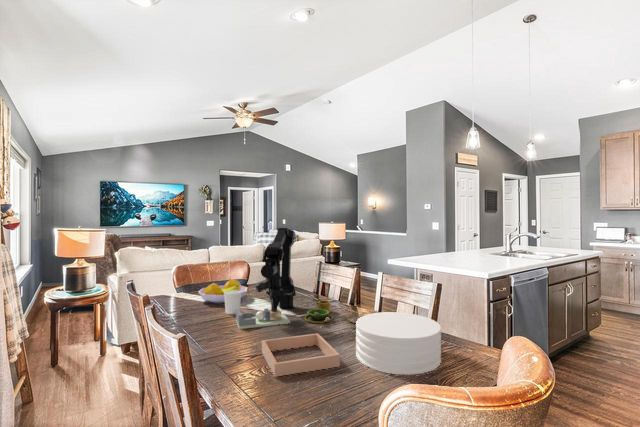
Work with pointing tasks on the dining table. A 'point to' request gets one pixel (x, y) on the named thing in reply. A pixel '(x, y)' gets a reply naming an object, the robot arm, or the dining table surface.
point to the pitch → (256, 320)
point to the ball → (260, 315)
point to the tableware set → (321, 313)
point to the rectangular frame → (299, 365)
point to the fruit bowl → (221, 291)
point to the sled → (272, 313)
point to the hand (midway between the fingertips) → (274, 308)
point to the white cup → (232, 301)
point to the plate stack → (398, 342)
